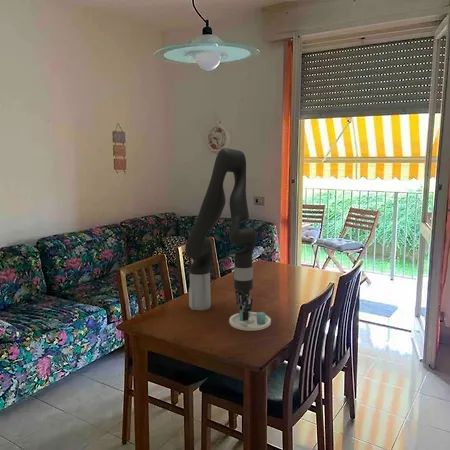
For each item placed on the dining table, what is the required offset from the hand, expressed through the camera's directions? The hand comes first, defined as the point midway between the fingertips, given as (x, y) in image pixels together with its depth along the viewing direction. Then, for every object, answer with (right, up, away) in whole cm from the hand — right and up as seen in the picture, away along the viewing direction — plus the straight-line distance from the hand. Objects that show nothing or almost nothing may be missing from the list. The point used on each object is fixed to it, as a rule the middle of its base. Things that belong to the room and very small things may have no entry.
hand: (243, 318), depth 172 cm
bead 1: (0, -1, 0) cm, 1 cm away
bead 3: (+7, -3, +3) cm, 8 cm away
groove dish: (+3, -3, +4) cm, 6 cm away
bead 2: (+1, -2, +8) cm, 8 cm away
